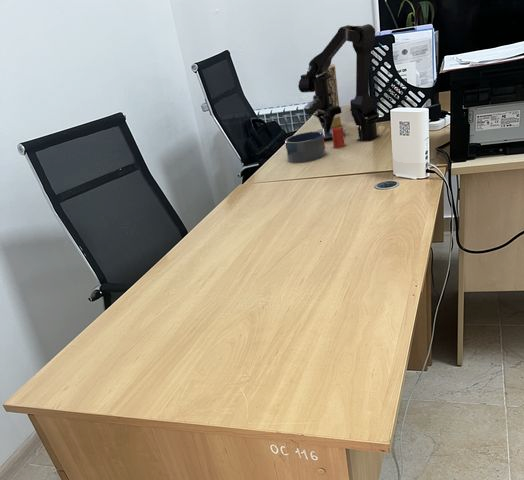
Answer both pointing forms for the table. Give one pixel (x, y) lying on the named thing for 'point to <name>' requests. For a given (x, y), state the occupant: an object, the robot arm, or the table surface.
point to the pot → (305, 147)
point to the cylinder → (338, 137)
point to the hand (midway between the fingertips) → (326, 131)
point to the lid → (327, 134)
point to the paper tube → (333, 93)
